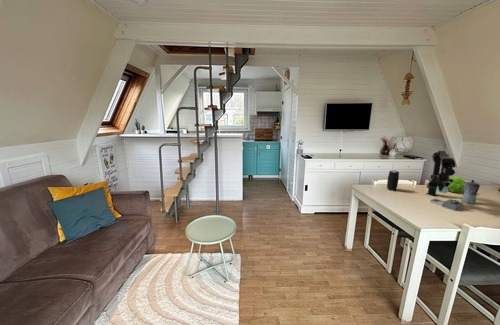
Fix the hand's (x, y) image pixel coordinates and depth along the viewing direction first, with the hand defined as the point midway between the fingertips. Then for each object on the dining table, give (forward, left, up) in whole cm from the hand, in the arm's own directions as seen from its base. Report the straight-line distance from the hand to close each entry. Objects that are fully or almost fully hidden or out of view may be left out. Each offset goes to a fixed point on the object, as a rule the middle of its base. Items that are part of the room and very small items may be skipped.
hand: (441, 190), depth 170 cm
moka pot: (-26, +10, -12) cm, 30 cm away
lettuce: (-51, -9, -12) cm, 53 cm away
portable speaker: (0, -39, -12) cm, 41 cm away
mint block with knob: (0, 0, -1) cm, 1 cm away
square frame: (0, +4, -11) cm, 12 cm away
